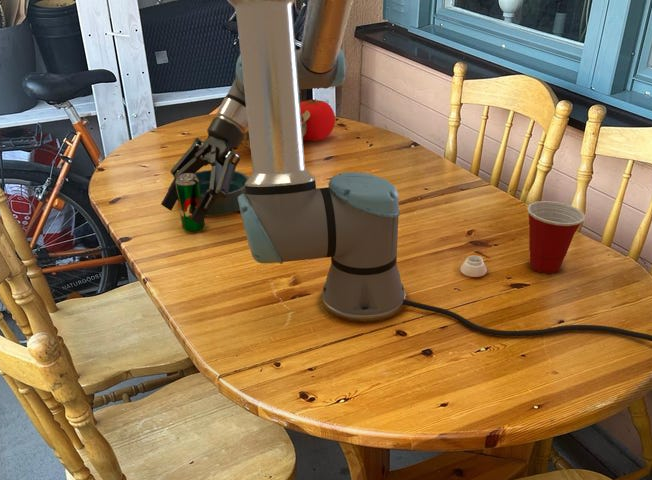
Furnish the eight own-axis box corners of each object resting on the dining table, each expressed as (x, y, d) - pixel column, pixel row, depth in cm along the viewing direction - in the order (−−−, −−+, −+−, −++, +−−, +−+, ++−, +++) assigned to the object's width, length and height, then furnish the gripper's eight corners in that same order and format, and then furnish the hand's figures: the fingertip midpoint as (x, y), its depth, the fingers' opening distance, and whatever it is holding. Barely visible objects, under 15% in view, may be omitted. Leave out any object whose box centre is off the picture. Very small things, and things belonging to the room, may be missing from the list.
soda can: (210, 226, 156) (203, 175, 149) (195, 235, 153) (187, 182, 146) (193, 222, 158) (185, 170, 151) (177, 230, 155) (169, 178, 148)
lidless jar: (476, 281, 134) (491, 272, 137) (477, 267, 133) (492, 258, 135) (455, 272, 137) (470, 264, 140) (456, 259, 135) (471, 250, 138)
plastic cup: (584, 277, 135) (596, 219, 128) (530, 282, 134) (540, 224, 127) (560, 251, 144) (571, 196, 137) (510, 256, 142) (518, 201, 135)
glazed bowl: (265, 202, 167) (264, 181, 164) (208, 224, 157) (205, 202, 154) (222, 184, 177) (220, 164, 174) (165, 203, 167) (162, 182, 164)
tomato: (343, 137, 204) (343, 98, 198) (311, 148, 197) (310, 109, 190) (315, 129, 211) (313, 91, 205) (283, 139, 204) (281, 101, 197)
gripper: (275, 146, 148) (223, 237, 148) (209, 124, 161) (163, 207, 161) (253, 127, 141) (200, 222, 142) (187, 105, 155) (139, 192, 155)
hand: (180, 214), depth 151 cm, fingers open, 10 cm apart
